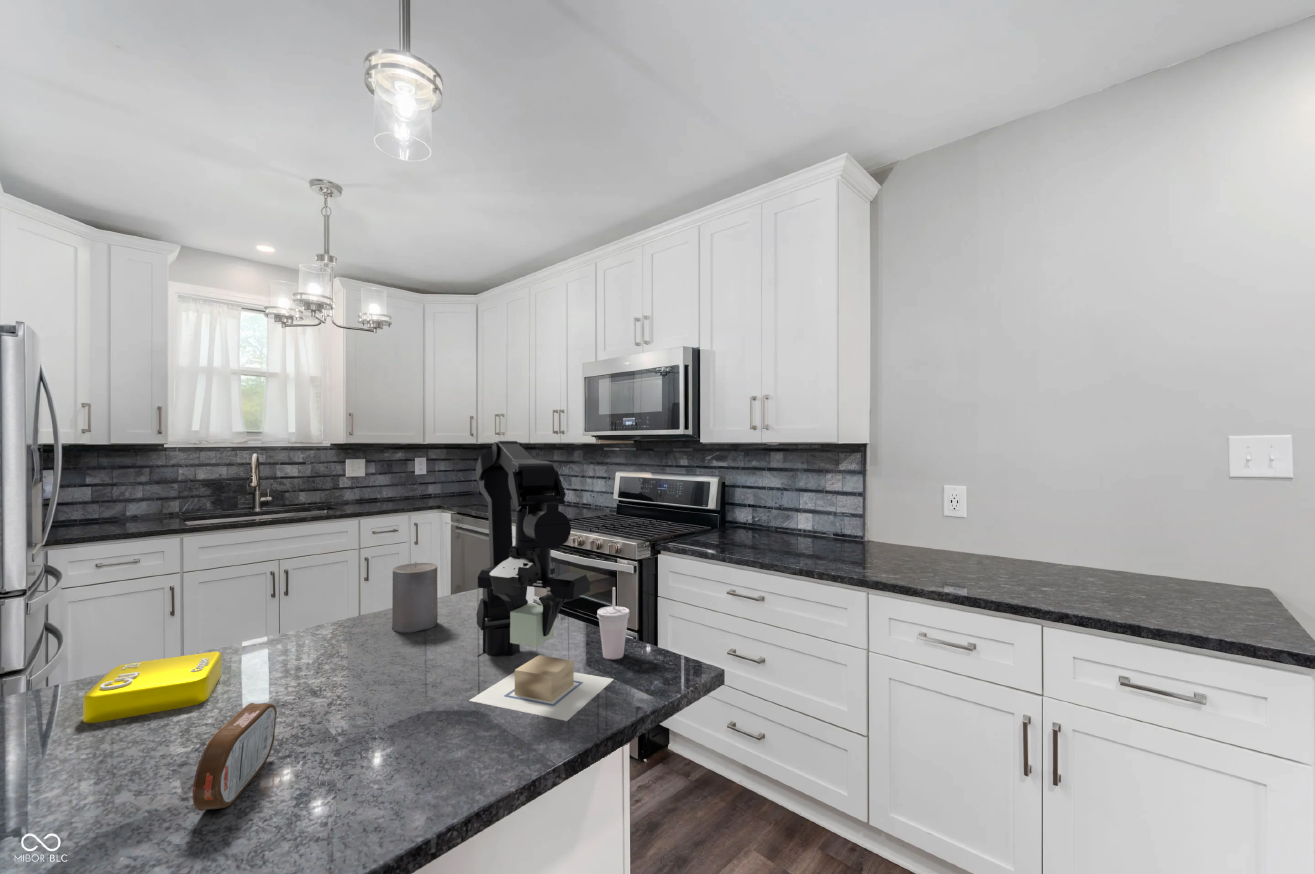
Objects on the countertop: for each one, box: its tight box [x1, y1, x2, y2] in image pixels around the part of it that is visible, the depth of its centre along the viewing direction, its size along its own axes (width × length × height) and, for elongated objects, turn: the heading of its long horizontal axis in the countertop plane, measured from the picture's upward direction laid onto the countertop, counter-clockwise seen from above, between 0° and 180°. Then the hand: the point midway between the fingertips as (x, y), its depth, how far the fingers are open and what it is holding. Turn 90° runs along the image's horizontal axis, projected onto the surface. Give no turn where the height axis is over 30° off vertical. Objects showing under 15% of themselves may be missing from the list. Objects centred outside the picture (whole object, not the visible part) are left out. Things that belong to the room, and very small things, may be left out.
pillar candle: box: [391, 561, 439, 634], centre depth 129 cm, size 10×10×15 cm
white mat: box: [468, 671, 614, 722], centre depth 93 cm, size 18×16×1 cm
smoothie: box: [596, 586, 631, 660], centre depth 109 cm, size 6×6×14 cm
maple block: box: [514, 654, 575, 702], centre depth 93 cm, size 7×7×4 cm
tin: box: [192, 702, 278, 812], centre depth 68 cm, size 15×3×8 cm, turn 13°
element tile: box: [82, 651, 223, 724], centre depth 93 cm, size 15×15×5 cm
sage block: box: [510, 603, 555, 648], centre depth 92 cm, size 5×5×5 cm
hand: (532, 633), depth 92 cm, fingers closed on sage block, 5 cm apart
